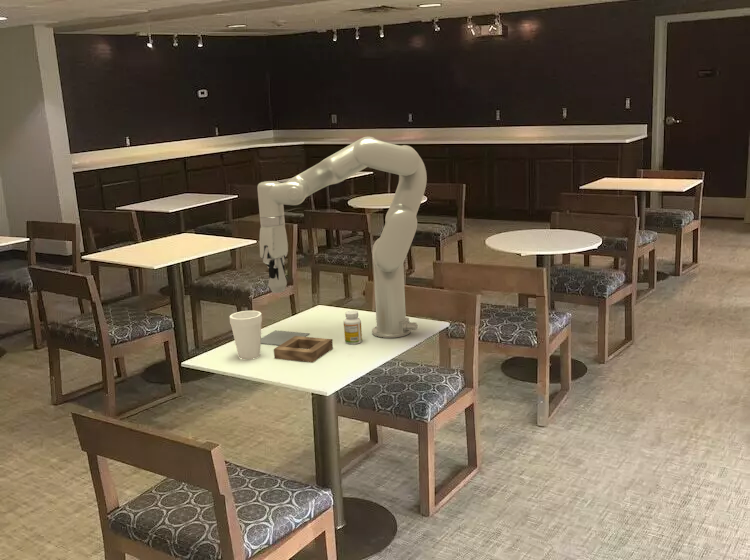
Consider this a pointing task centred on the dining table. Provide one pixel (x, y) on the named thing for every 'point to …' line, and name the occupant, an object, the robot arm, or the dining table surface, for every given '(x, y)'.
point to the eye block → (303, 349)
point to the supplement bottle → (352, 328)
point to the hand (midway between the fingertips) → (277, 278)
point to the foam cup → (247, 333)
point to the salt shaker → (274, 283)
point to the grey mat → (280, 337)
